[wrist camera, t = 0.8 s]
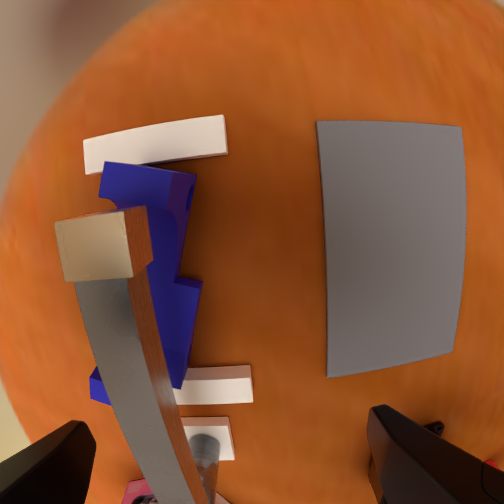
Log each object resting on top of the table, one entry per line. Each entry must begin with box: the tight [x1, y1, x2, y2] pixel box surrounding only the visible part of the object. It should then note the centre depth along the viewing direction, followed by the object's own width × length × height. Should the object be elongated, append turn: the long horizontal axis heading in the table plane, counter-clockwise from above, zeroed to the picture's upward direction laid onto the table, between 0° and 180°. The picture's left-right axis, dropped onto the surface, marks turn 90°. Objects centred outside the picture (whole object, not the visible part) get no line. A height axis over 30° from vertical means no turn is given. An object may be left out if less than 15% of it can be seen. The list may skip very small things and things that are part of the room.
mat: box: [315, 121, 466, 378], centre depth 18 cm, size 10×16×1 cm, turn 5°
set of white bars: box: [83, 115, 253, 460], centre depth 19 cm, size 8×24×2 cm, turn 5°
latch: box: [54, 205, 220, 504], centre depth 14 cm, size 3×19×9 cm, turn 5°
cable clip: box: [89, 161, 203, 406], centre depth 16 cm, size 12×4×6 cm, turn 167°
